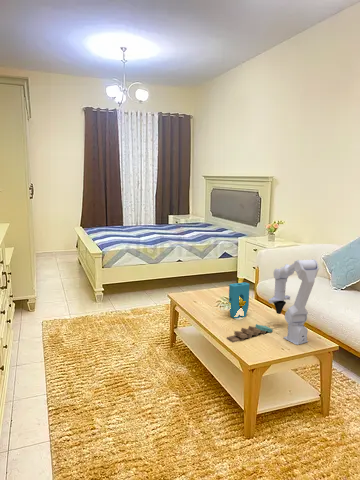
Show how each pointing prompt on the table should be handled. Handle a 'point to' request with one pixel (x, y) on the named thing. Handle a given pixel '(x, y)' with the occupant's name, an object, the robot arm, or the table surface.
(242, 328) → the walnut domino
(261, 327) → the teal domino
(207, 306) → the table surface
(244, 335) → the walnut domino
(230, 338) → the walnut domino
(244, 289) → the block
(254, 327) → the walnut domino
